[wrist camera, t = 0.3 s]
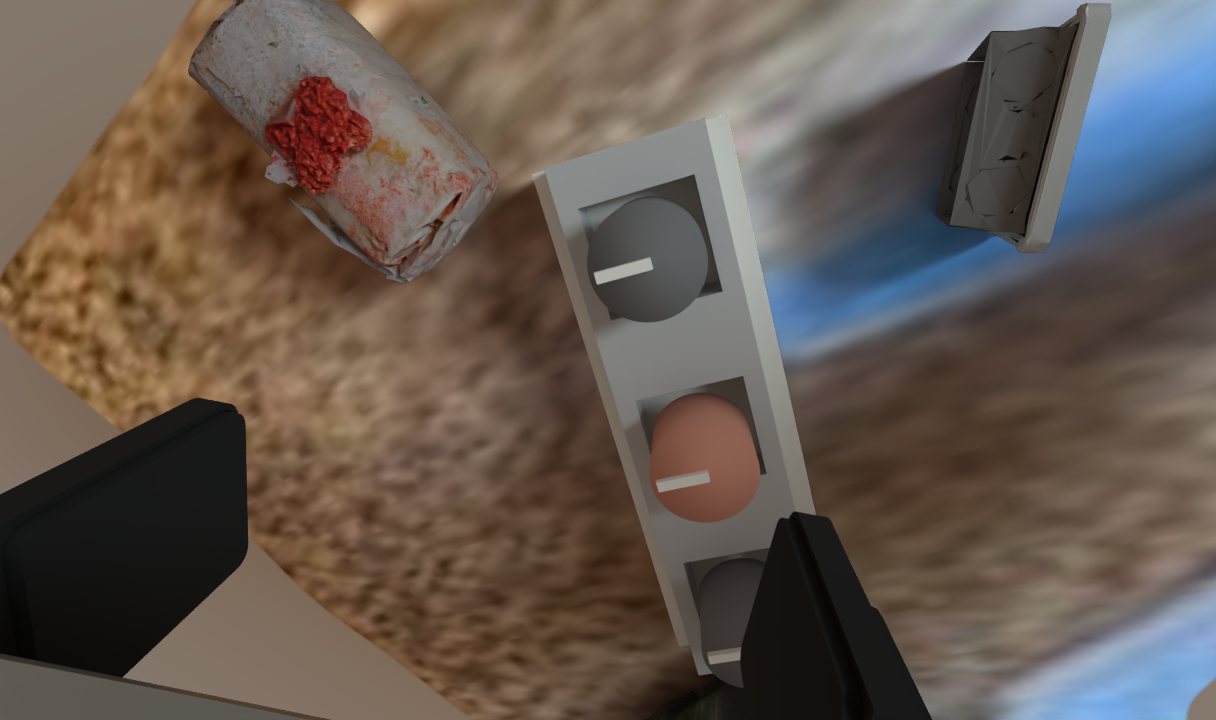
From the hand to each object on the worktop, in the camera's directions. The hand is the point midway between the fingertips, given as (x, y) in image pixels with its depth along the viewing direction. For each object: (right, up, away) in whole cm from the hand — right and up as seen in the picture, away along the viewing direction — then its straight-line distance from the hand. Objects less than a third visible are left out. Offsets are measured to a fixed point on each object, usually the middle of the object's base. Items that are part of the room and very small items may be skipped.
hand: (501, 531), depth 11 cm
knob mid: (+7, -1, +21) cm, 22 cm away
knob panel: (+7, +1, +27) cm, 28 cm away
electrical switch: (+21, +14, +22) cm, 33 cm away
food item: (-10, +15, +25) cm, 31 cm away
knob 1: (+4, +8, +19) cm, 21 cm away
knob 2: (+9, -10, +24) cm, 28 cm away
